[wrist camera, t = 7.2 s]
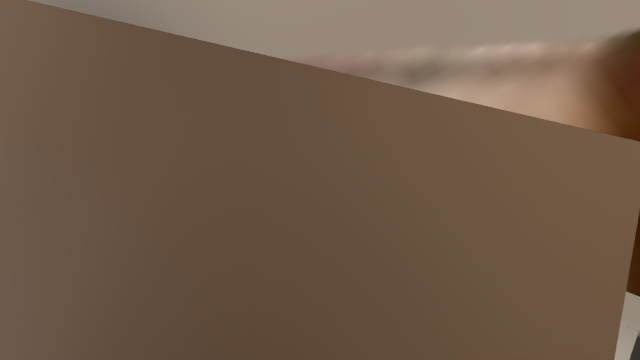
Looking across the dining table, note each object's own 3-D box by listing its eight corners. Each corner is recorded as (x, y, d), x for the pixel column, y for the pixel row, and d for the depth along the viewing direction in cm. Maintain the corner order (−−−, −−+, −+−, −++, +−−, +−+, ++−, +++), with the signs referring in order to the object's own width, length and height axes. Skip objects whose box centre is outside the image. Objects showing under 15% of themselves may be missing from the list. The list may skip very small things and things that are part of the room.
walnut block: (400, 236, 16) (651, 144, 3) (363, 399, 15) (499, 1040, 3) (245, 198, 16) (-62, -21, 4) (203, 357, 15) (-345, 758, 3)
